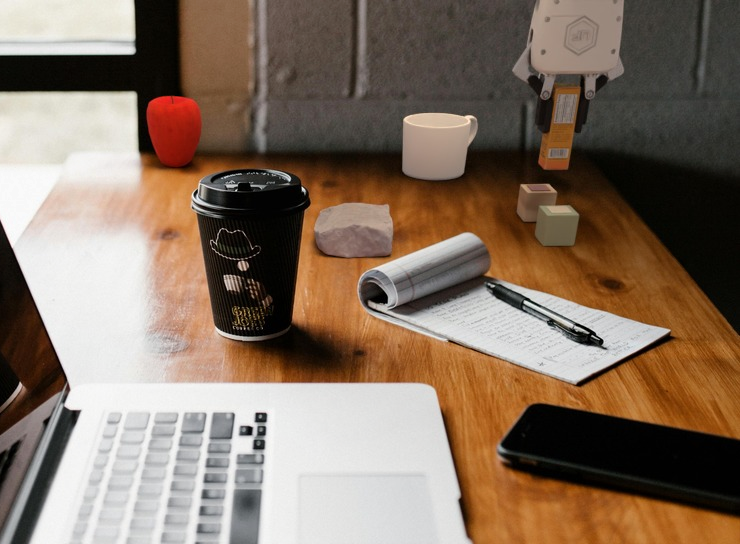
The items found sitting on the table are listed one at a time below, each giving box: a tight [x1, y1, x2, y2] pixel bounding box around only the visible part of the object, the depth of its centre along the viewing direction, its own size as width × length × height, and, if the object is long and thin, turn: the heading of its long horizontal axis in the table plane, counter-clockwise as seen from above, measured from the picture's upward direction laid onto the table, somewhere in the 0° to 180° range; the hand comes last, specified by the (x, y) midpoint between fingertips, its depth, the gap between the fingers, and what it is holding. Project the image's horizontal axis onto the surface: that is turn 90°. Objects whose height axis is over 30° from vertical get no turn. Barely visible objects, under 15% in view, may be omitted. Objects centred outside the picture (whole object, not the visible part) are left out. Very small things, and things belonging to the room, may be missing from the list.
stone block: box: [313, 202, 394, 259], centre depth 110 cm, size 12×5×10 cm
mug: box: [401, 112, 479, 181], centre depth 137 cm, size 13×10×8 cm
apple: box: [146, 95, 203, 168], centre depth 141 cm, size 9×9×11 cm
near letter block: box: [534, 204, 580, 247], centre depth 110 cm, size 4×4×4 cm
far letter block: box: [516, 183, 558, 223], centre depth 118 cm, size 4×4×4 cm
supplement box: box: [537, 82, 581, 171], centre depth 108 cm, size 3×3×10 cm
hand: (559, 129), depth 108 cm, fingers closed on supplement box, 3 cm apart
